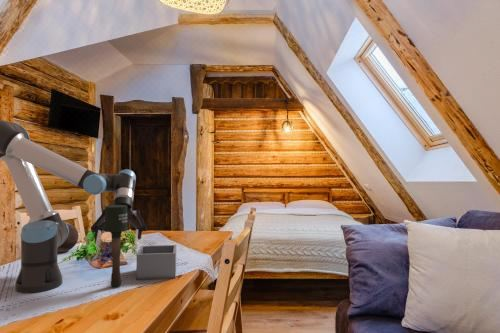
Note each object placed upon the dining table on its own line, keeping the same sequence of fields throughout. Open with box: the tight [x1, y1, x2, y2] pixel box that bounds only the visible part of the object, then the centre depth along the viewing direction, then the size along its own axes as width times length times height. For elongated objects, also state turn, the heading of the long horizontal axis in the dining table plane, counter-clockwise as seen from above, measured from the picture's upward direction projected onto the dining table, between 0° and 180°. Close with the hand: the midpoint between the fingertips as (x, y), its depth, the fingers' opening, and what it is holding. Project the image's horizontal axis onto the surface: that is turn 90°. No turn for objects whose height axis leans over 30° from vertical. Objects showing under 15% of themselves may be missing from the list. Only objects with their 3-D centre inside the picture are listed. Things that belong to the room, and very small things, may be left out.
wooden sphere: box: [57, 222, 79, 253], centre depth 185 cm, size 15×15×15 cm
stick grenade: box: [103, 204, 129, 288], centre depth 134 cm, size 8×9×30 cm
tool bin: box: [135, 244, 177, 281], centre depth 150 cm, size 15×15×10 cm
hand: (116, 246), depth 132 cm, fingers open, 13 cm apart
